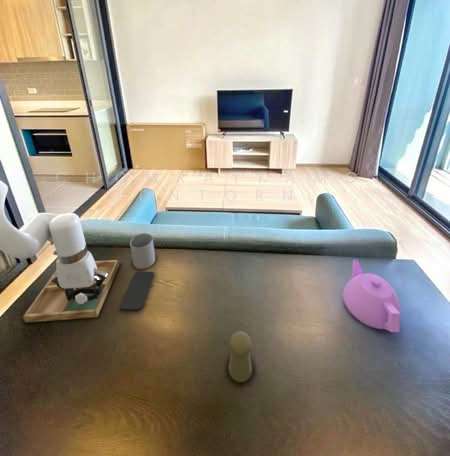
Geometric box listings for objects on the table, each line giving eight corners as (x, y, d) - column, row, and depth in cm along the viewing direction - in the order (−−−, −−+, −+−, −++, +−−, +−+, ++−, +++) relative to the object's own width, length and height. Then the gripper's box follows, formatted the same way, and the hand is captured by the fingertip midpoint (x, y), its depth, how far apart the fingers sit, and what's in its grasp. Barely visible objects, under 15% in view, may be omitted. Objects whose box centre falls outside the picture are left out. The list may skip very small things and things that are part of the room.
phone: (118, 308, 79) (135, 271, 93) (118, 310, 79) (135, 272, 93) (141, 309, 79) (154, 271, 93) (141, 311, 79) (155, 273, 93)
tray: (25, 322, 76) (22, 316, 75) (62, 268, 96) (60, 263, 95) (97, 317, 77) (96, 311, 76) (119, 264, 97) (118, 259, 96)
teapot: (419, 343, 69) (431, 312, 65) (365, 347, 68) (374, 316, 64) (371, 279, 90) (378, 252, 86) (329, 281, 89) (334, 254, 85)
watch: (69, 304, 79) (66, 295, 78) (78, 291, 84) (76, 283, 82) (92, 305, 79) (90, 296, 78) (100, 292, 83) (98, 284, 82)
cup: (146, 250, 105) (143, 230, 101) (159, 258, 100) (157, 238, 96) (129, 262, 98) (125, 242, 95) (142, 272, 94) (138, 251, 90)
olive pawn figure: (239, 350, 68) (239, 321, 64) (256, 368, 64) (258, 339, 60) (223, 367, 64) (223, 338, 60) (241, 388, 60) (241, 358, 56)
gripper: (34, 264, 71) (50, 308, 77) (97, 260, 72) (108, 304, 78) (49, 245, 78) (63, 288, 84) (107, 242, 79) (116, 284, 85)
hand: (84, 295), depth 81 cm, fingers closed on watch, 7 cm apart
